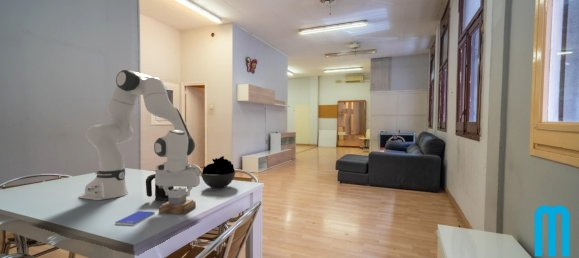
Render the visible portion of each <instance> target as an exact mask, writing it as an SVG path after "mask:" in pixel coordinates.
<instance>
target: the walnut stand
mask: <svg viewBox="0 0 579 258" xmlns="http://www.w3.org/2000/svg"><path fill="white" fill-rule="evenodd" d="M194 208H196V200H195V201H194V199H186V201H184V202H183V203H181V204H179V205H176V204H169V201H168V202H167V201H166V202H164V203H161V205H160V206H158V213H159V214H166V215H167V214H168V215H170V214H171V215H186V214H187V213H189V212H191V211H192V210H193V209H194Z"/></svg>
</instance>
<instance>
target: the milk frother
mask: <svg viewBox="0 0 579 258" xmlns="http://www.w3.org/2000/svg"><path fill="white" fill-rule="evenodd" d="M156 171H158V170H157V169H156V170H155V173H152V174H150V175H148V176H147V177H146V179H145V190H146V191H145V193H146V196H147V197H148V198H151V197H152V196H153V187H152V186H153V185H152V184H153V183H152V181H153V180H155V174H156ZM174 188H175V186H169V187H168V189H169V190H172V189H174ZM154 199H155V200H156V201H166V202H168V201H169V195H166V192H165V190H164V189H163V186H157V185H156V184H155V183H154Z"/></svg>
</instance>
